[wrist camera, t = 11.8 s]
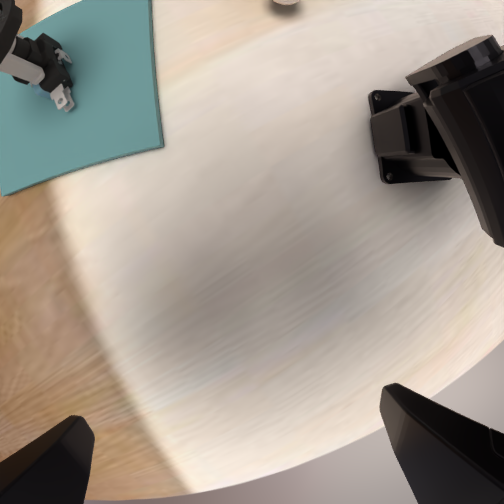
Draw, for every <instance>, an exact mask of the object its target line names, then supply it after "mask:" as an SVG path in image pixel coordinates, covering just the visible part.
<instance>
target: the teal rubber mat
mask: <svg viewBox="0 0 504 504" xmlns="http://www.w3.org/2000/svg"><path fill="white" fill-rule="evenodd" d="M42 33H45V34H46V35H48V36H49V37H51V38H53V39H54V40H56V41H57V42H59V43H60V45H61V47H62V51H64V52H65V53H67V54H68V55H69V57H70V59H71V61H72V63H71V64H70V63H69V62H67V61H65V60H64V59H62V61H63V63H64V65H65V68H66V70H67V72H68V73H69V75H70V78H71V81H72V83H73V86H72V87H71V88H69V89H70V91H71V93H70V96H71V98H72V100H73V102H74V106H73V107H72V108H71V109H70V110H69V111H68V112H65V110H64V108H62V109H60V110H58V108H57V105H56V103H55V101H53V100H50V99H47V98H44V97H40V96H37V95H36V94H35V92H34V90H33V87H31V85H30V83H29V84H28V85H25V84H22V83H19V82H17V81H15V80H14V79H13V77H12V75H10V74H7V73H4V72H1V71H0V189H1V196H8V195H11V194H14V193H16V192H18V191H21V190H23V189H26V188H28V187H31V186H34V185H36V184H39V183H42V182H44V181H47V180H50V179H53V178H55V177H58V176H61V175H64V174H67V173H70V172H73V171H76V170H79V169H83V168H86V167H89V166H92V165H96V164H99V163H102V162H106V161H109V160H113V159H117V158H120V157H124V156H128V155H132V154H136V153H140V152H144V151H148V150H152V149H157V148H161V147H164V143H163V135H162V127H161V119H160V111H159V102H158V92H157V82H156V71H155V59H154V45H153V29H152V6H151V0H82V1H80V2H78V3H75V4H73V5H71V6H69V7H67V8H65V9H63V10H61V11H59V12H57V13H55V14H53V15H51V16H49V17H48V18H46V19H44V20H42V21H40V22H39V23H37V24H35V25H33V26H32V27H30V28H28V29H27V30H25V31H24V32H22V33H20V34H19V35H20V36H22V37H24V38H25V37H28V38H30V39H32V40H35V39H36V38H38V37H39V36H40V35H41V34H42ZM66 58H67V57H66ZM67 59H68V58H67ZM59 104H61V102H60V103H59ZM69 104H70V101H68V102H67V104H66V106H69Z"/></svg>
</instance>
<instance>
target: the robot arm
mask: <svg viewBox="0 0 504 504" xmlns="http://www.w3.org/2000/svg"><path fill="white" fill-rule="evenodd" d="M405 78H406V79H407V81H408V82H409V84H410V85H411V86H412V85H413V87H414V88H415V90H416V91H417V92H416V93H412V92H400V91H384V90H375V91H372V92H371V93H370V94H369V101H370V106H371V111H372V117H371V125H372V131H373V137H374V144H375V152H376V154H377V155H378V158H379V166H380V175H381V180H382V181H383V182H384V183H386V184H395V183H408V182H422V181H438V180H450V179H452V178H460V179H463V181H464V184H465V186H466V188H467V191H468V193H469V195H470V198H471V200H472V203H473V205H474V208H475V211H476V213H477V216H478V219H479V222H480V224H481V227H482V229H483V230H484V231H485V232H486V233H487V234H488V235H489V236H490V237H492V238H493V241H494V243H495V244H496V245H499V246H501V247H504V45H503V46H501V47H500V46H499V44H498V43H497V41H496V39H495V38H494V36H493V35H487V36H482V37H477V38H474V39H471V40H469V41H467V42H465V43H463V44H461V45H459V46H457V47H455V48H453V49H451V50H449V51H447V52H446V53H444V54H442V55H441V56H439V57H437V58H436V59H434V60H432V61H431V62H429V63H427V64H426V65H424V66H422V67H421V68H419V69H417V70H416V71H414V72H413V73H411V74H409V75H408V76H406V77H405ZM375 95H377V96H378V98H379V100H376V99H375ZM388 173H389V174H390V179H389V180H388V179H387V177H386V176H387V174H388ZM380 413H381V416H382V419H383V422H384V425H385V427H386V430H387V433H388V436H389V439H390V442H391V445H392V448H393V451H394V453H395V455H396V458H397V460H398V462H399V464H400V466H401V468H402V470H403V472H404V474H405V477H406V479H407V481H408V483H409V485H410V487H411V489H412V491H413V493H414V495H415V498H416V500H417V502H418V504H504V434H503V433H501V432H499V431H496V430H494V429H492V428H490V429H489V427H487V426H485V425H483V424H481V423H478V422H476V421H474V420H472V419H470V418H467V417H465V416H463V415H461V414H459V413H457V412H455V411H453V410H451V409H449V408H447V407H444V406H442V405H440V404H438V403H436V402H434V401H432V400H430V399H428V398H426V397H424V396H422V395H420V394H418V393H416V392H414V391H412V390H410V389H408V388H406V387H404V386H402V385H400V384H398V383H393V384H389V385H386V386H384V387H383V389H382V394H381V400H380ZM94 442H95V436H94V433H93V431H92V430H91V428H90V427H89V425H88V424H87V422H86V420H85V419H84V418H83V417H82V416H76V415H71V416H69V417H68V418H66V419H65V420H63V421H62V422H60V423H59V424H57V425H56V426H54V427H53V428H51V429H50V430H49V431H47V432H46V433H44V434H43V435H41V436H40V437H38V438H37V439H35V440H34V441H32V442H31V443H29V444H28V445H26V446H25V447H23V448H22V449H20V450H19V451H17V452H16V453H14V454H12V455H11V456H9V457H8V458H6V459H5V460H3V461H2V462H0V504H84V499H85V495H86V490H87V486H88V481H89V476H90V470H91V462H92V455H93V448H94Z"/></svg>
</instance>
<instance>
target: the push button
mask: <svg viewBox="0 0 504 504" xmlns="http://www.w3.org/2000/svg"><path fill="white" fill-rule="evenodd" d="M21 23H22V9H20V8H19V7H17V6H16V5H15V0H0V71H1V72H4V73H7V74H10V75H12V77H13V79H14V80H15V81H17V82H19V83H22V84H25V85H28V84H29V83H30V85H31V87H33V90H34V92H35V94H36V95H37V96H40V97H44V98H47V99H50V100H53V101H55V103H56V105H57V108H58V110H60V109H62V108H64V110H65V112H68V111H69V110H70V109H71V108H72V107H73V106H74V102H73V100H72V98H71V96H70V93H71V91H70V89H69V88H71V87H72V86H73V83H72V81H71V78H70V75H69V73H68V72H67V70H66V68H65V65H64V63H63V61H62V59H64V60H65V61H67V62H69V63H70V64H71V63H72V61H71V59H70V57H69V55H68V54H67V53H65V52H64V51H62V47H61V45H60V43H59V42H57V41H56V40H54V39H53V38H51V37H49V36H48V35H46V34H45V33H42V34H41V35H40V36H39V37H38V38H36V39H35V40H32V39H30V38H28V37H25V38H24V37H22V36H20V35H19V34H17V32H18V30H19V28H20V25H21ZM66 57H67V58H68V59H67V58H66ZM68 101H70V104H69V106H66V104H67V102H68ZM60 102H61V104H59V103H60Z"/></svg>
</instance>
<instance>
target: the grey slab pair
mask: <svg viewBox="0 0 504 504" xmlns="http://www.w3.org/2000/svg"><path fill="white" fill-rule="evenodd" d="M273 1H274V2H276V3H278V4H281V5H292V4H295V3H297V2H298V1H300V0H273Z"/></svg>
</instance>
